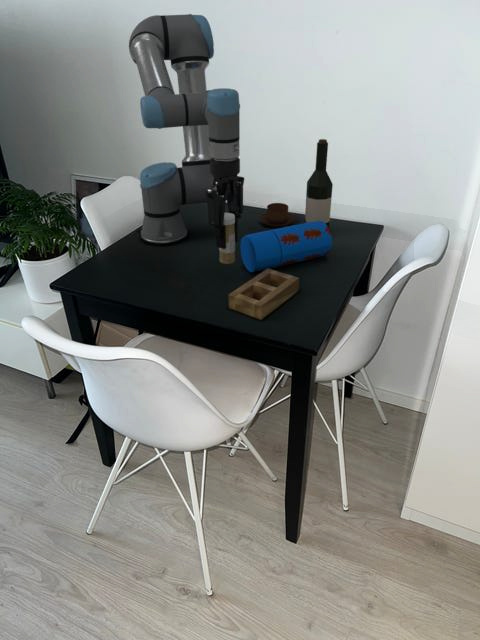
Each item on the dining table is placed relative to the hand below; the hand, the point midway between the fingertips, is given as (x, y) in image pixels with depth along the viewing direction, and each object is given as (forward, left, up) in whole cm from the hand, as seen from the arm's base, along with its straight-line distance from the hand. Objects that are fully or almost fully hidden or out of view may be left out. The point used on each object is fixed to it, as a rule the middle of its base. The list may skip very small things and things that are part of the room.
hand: (227, 243), depth 139 cm
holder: (+15, -4, -10) cm, 19 cm away
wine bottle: (+4, +44, -11) cm, 45 cm away
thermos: (+14, +29, -5) cm, 33 cm away
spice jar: (0, 0, -5) cm, 5 cm away
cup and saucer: (-11, +43, -11) cm, 45 cm away
